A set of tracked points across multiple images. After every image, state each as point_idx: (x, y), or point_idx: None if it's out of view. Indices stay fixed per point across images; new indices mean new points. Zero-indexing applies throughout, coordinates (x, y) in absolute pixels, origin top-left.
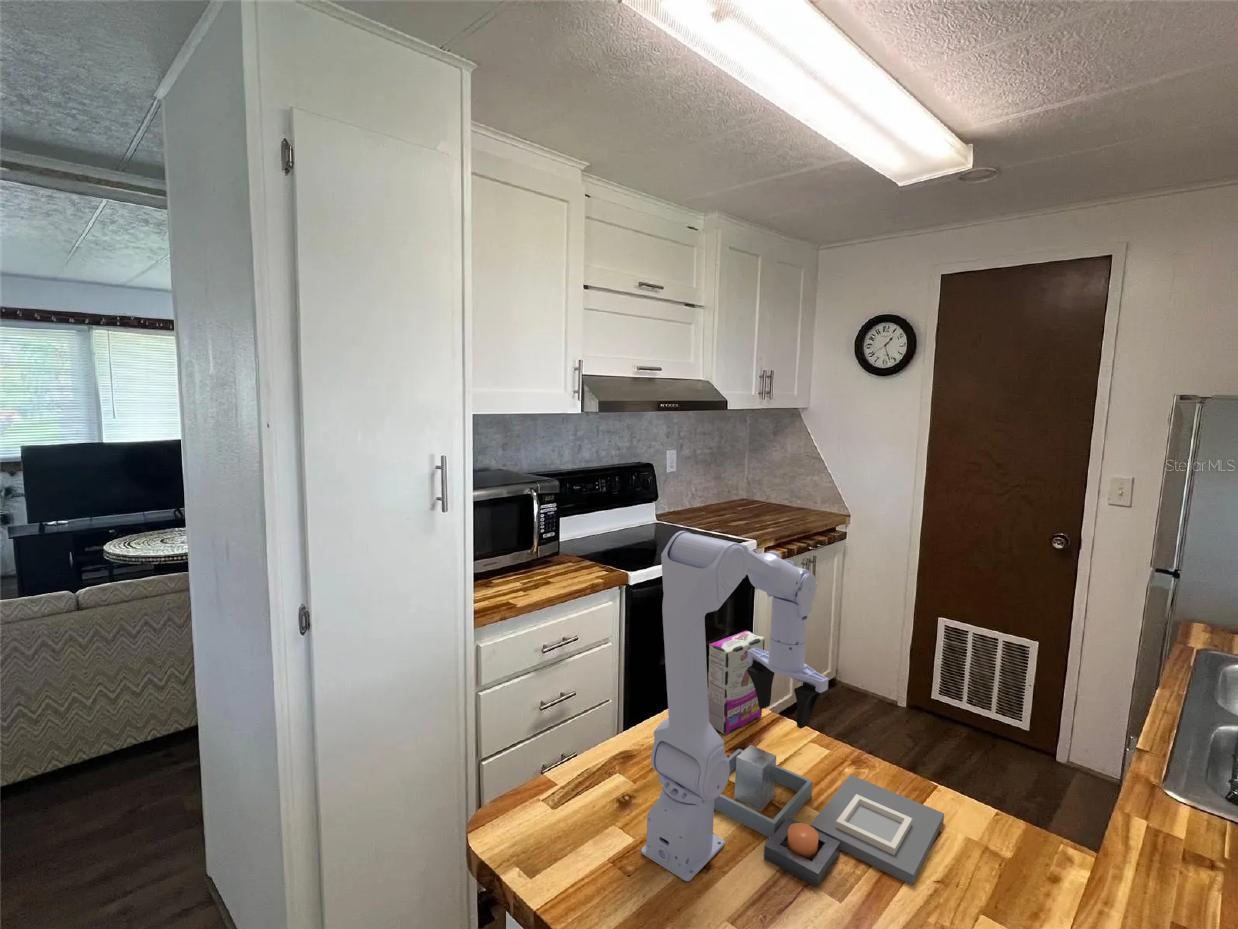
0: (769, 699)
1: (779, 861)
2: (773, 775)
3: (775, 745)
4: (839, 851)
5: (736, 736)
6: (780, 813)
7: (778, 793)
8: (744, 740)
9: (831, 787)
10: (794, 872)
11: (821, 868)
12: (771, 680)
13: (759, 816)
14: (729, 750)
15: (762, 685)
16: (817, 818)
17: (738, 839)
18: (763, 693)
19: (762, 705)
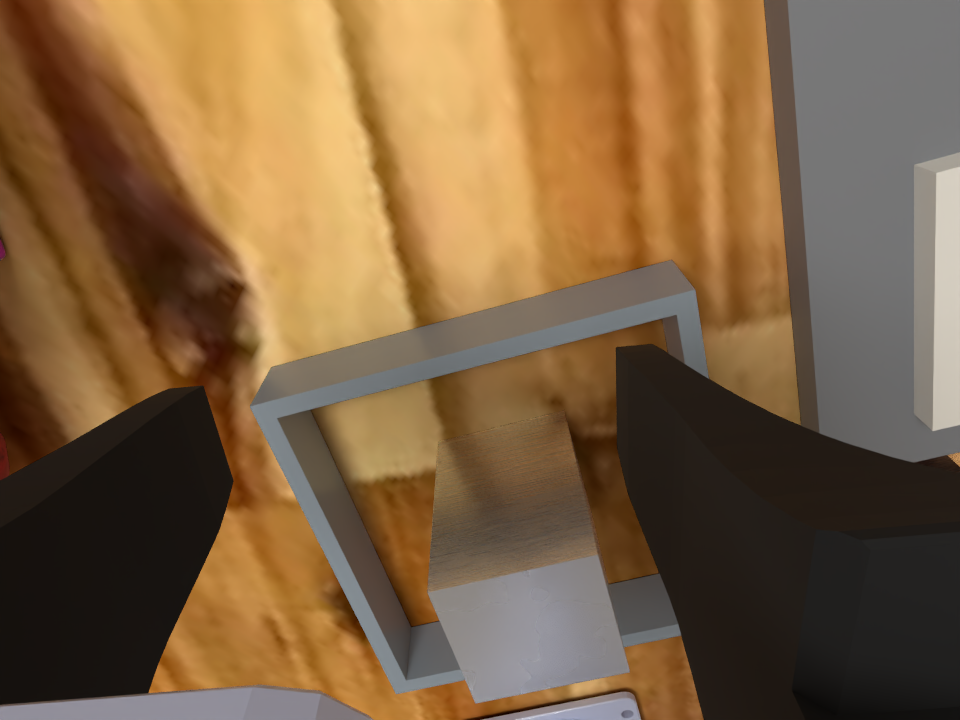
0: (176, 424)
1: None
2: (585, 499)
3: (214, 47)
4: (955, 464)
5: (35, 197)
6: None
7: (558, 375)
8: (93, 186)
9: (702, 102)
10: None
11: None
12: (40, 547)
13: (680, 634)
14: (157, 331)
15: (119, 681)
16: (826, 433)
17: (639, 645)
18: (160, 573)
19: (221, 503)
